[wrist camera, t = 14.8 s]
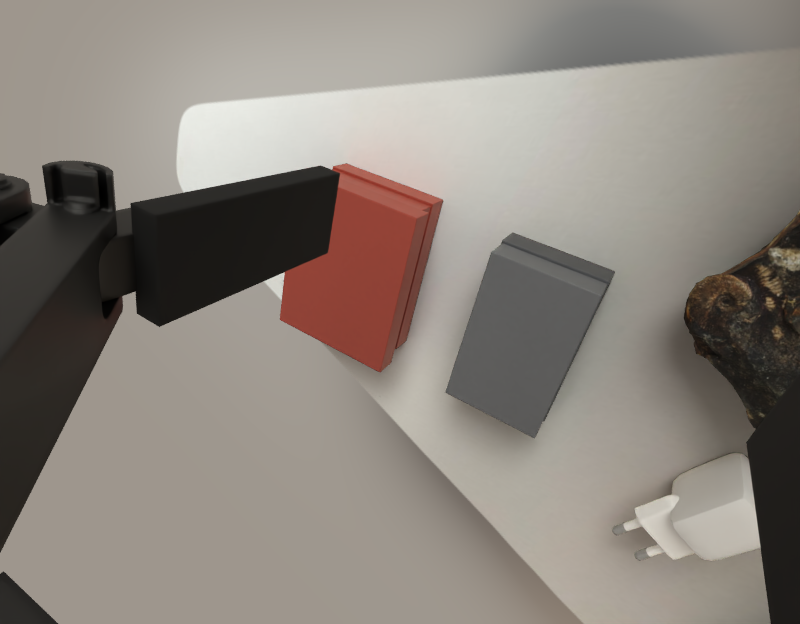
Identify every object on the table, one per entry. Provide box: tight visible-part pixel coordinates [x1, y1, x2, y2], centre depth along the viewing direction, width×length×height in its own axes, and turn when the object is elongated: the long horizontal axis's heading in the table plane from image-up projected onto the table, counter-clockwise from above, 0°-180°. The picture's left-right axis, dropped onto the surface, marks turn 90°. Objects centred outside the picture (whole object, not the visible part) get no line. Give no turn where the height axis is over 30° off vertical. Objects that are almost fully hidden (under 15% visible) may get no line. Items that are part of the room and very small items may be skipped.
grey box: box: [446, 233, 615, 438], centre depth 39 cm, size 13×8×5 cm, turn 167°
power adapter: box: [612, 453, 761, 561], centre depth 37 cm, size 11×5×6 cm, turn 140°
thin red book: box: [280, 178, 429, 372], centre depth 42 cm, size 14×11×2 cm
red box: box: [332, 164, 443, 349], centre depth 44 cm, size 14×10×4 cm
